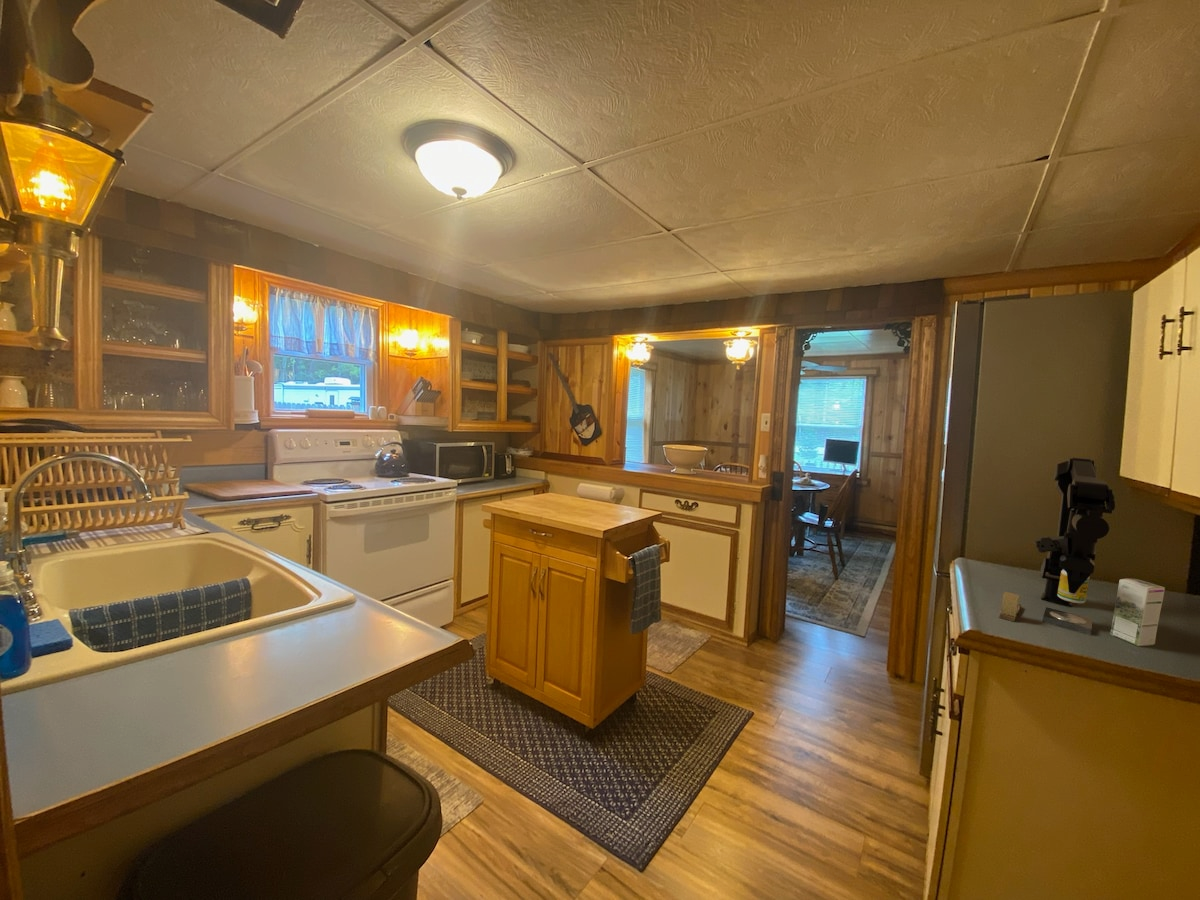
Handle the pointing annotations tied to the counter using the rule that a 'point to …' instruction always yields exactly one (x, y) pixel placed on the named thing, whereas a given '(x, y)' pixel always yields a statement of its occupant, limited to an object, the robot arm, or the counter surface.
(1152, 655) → the counter surface
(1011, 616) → the rail
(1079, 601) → the supplement bottle
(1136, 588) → the syrup box
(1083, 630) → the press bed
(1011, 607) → the handle
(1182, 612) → the counter surface
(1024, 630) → the counter surface
